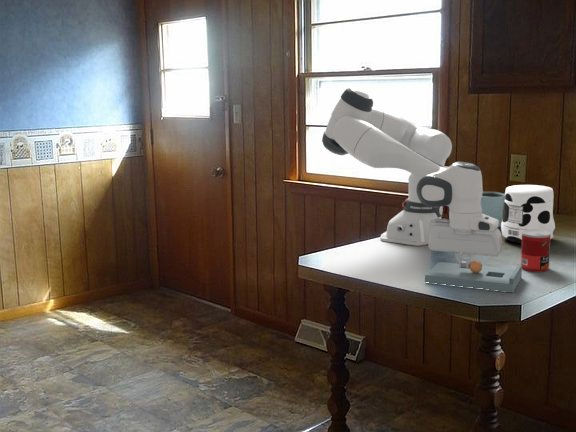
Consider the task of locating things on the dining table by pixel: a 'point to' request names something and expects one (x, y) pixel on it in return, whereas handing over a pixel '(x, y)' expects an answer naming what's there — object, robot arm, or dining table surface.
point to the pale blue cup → (493, 205)
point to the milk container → (527, 211)
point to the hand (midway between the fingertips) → (464, 267)
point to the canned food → (535, 250)
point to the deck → (475, 277)
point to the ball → (475, 266)
